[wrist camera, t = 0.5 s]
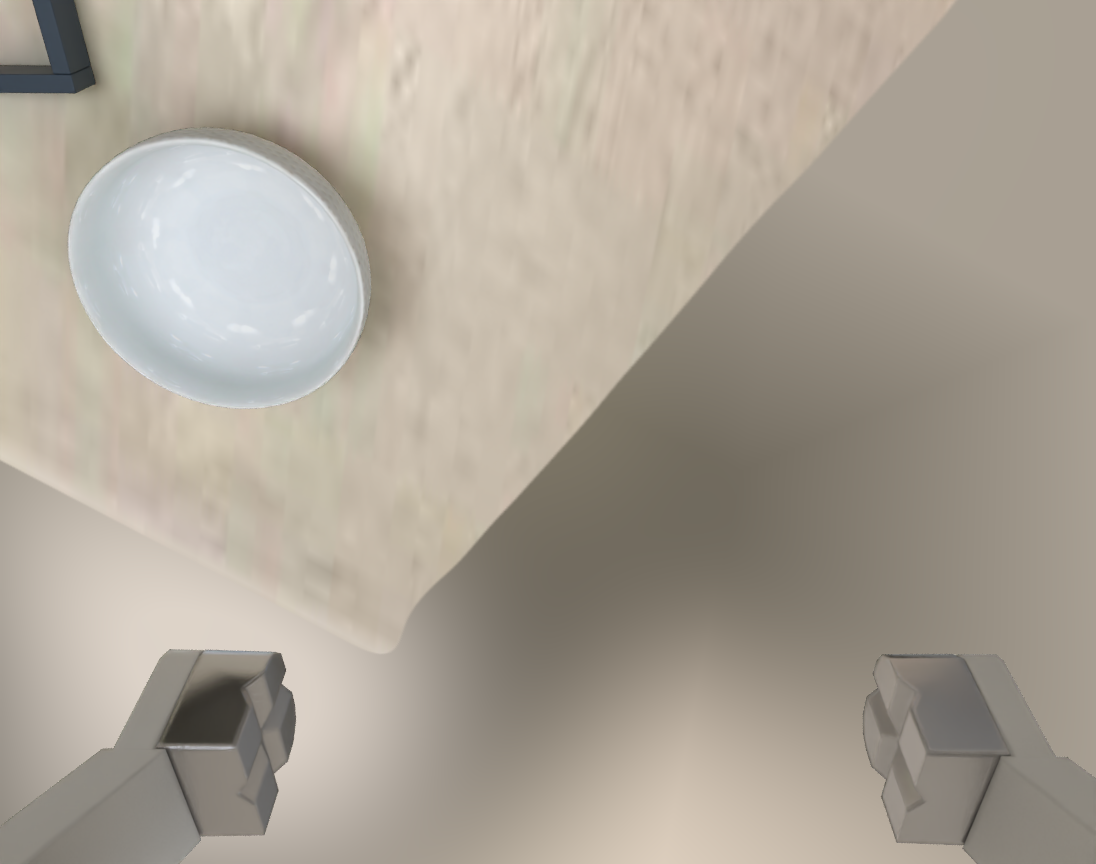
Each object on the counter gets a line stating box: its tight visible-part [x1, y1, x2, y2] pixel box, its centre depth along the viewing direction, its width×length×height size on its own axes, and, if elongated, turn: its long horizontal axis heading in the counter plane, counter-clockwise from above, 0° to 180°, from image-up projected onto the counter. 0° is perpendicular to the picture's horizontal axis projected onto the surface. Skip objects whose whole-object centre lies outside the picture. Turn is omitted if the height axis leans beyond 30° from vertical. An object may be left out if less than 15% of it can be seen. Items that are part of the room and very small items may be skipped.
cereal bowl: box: [68, 127, 371, 409], centre depth 53 cm, size 17×17×7 cm
